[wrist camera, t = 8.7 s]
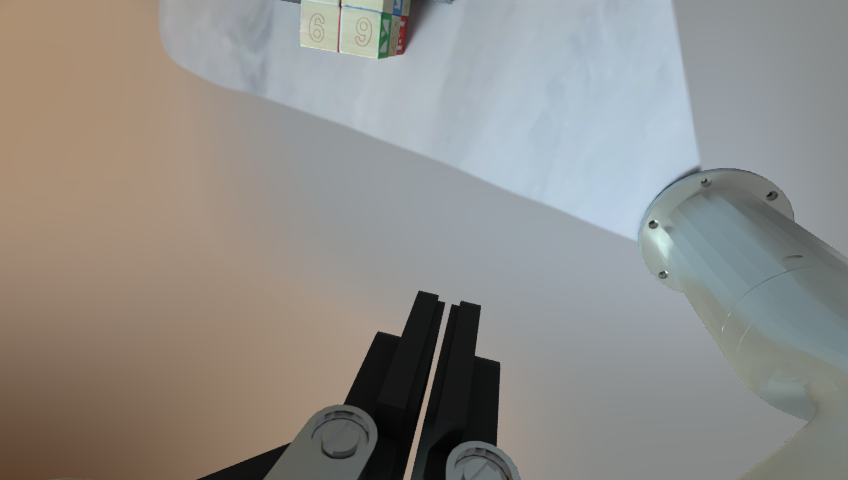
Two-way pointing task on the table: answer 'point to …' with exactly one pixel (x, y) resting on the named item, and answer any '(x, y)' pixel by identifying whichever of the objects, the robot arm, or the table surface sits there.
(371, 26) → the stack of blocks
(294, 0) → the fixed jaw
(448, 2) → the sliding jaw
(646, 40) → the table surface
